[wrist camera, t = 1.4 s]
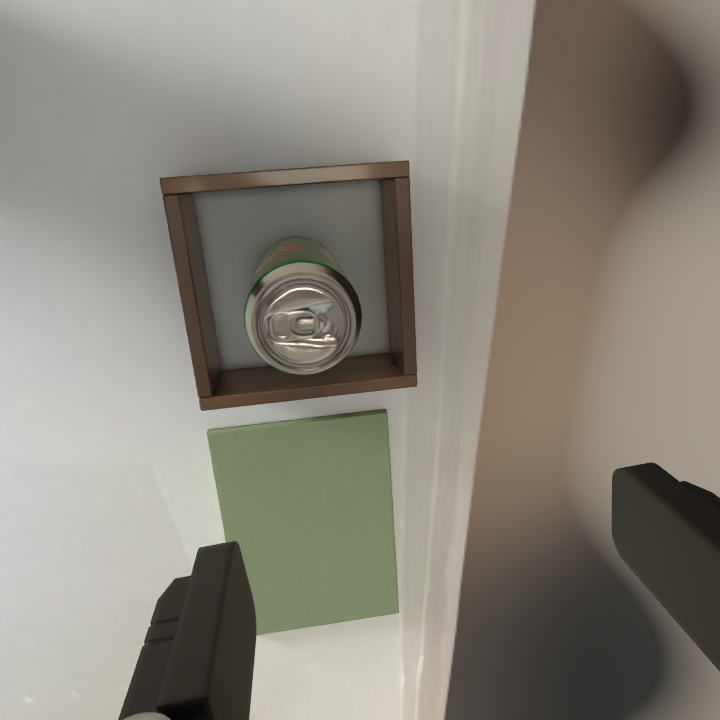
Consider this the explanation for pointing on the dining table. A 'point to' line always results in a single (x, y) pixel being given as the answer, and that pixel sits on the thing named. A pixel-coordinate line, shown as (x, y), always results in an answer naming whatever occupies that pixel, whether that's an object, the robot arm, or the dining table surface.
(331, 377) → the crate
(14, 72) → the dining table surface
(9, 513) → the dining table surface
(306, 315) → the soda can
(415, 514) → the dining table surface
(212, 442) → the mat
